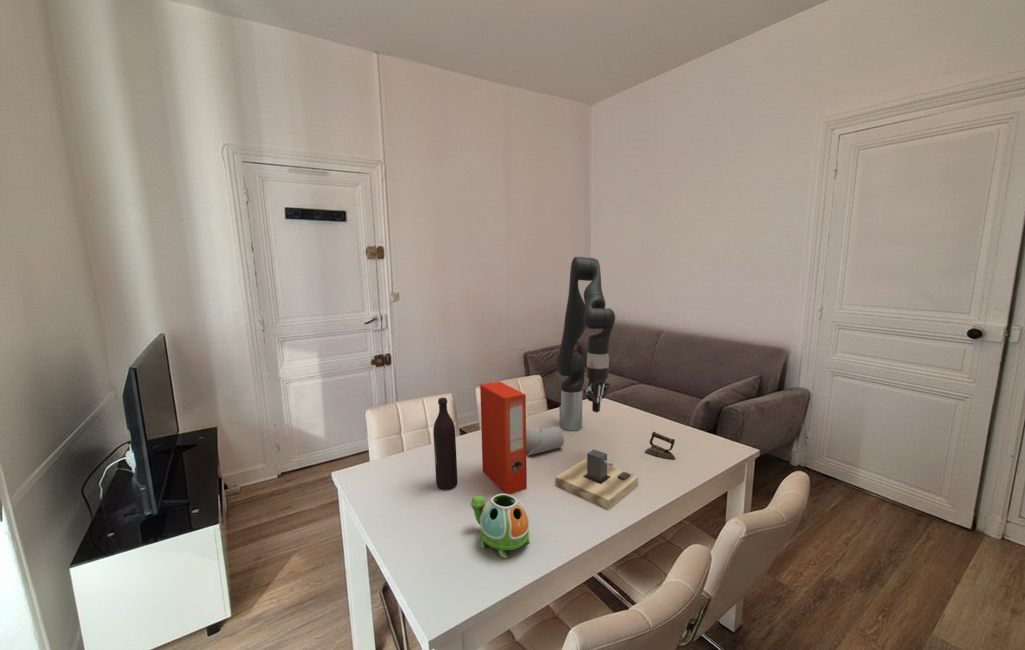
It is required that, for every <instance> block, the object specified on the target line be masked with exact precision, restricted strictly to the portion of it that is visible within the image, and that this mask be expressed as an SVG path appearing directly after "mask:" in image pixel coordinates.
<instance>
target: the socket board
mask: <svg viewBox="0 0 1025 650" xmlns="http://www.w3.org/2000/svg"><path fill="white" fill-rule="evenodd" d="M554 480H555V486H556V487H558V488H559V489H560V488H561V489H563V490H565V491H567V492H569V493H571V494H573V495H576V496H578V497H580V498H582V499H585V500H587V501H589V502H591V503H593V504H596V505H598V506H600V507H603V508H605V509H606V510H610V509H611V508H612V507H613V506H615V505H616V504H617V503H619V502H620V501H621V500H622V499H624V497H626V496H627V495H629V493H631V492H632V491H633V490H634V489H635V488H637V487H638V486H639V476H637V475H635V474H632V473H630V472H627V471H624V470H621V469H619V468H616V467H613V466H609V465H607V480H606V481H605V482H603V483H602V484H599V483H597V482H594V481H592V480H589V479H587V457H585V458H583V460H580V461H578V462H577V463H576V464H574V465H573V466H571V467H569V468H567V469H566V470H564V471H563V472H561V473H560V474H558V475H556V476H555V479H554Z"/></svg>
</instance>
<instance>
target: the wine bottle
mask: <svg viewBox="0 0 1025 650" xmlns="http://www.w3.org/2000/svg"><path fill="white" fill-rule="evenodd" d="M437 402H438V403H437V404H438V415H437V417H436V419H435V421H434V423H433V428H432V429H433V432H432V433H433V451H434V466H435V467H434V468H435V484H436V487H437V489H438V490H441V491H449V490H453V489H455V488H456V487H457V486H458V465H457V464H458V462H457V460H458V459H457V442H456V440H457V439H456V427H455V424H454V420H453V419H452V417H451V415H450V414H449V412H448V405H447V404H448V399H447V398H446V397H439V398H438V401H437Z"/></svg>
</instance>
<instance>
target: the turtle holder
mask: <svg viewBox="0 0 1025 650" xmlns="http://www.w3.org/2000/svg"><path fill="white" fill-rule="evenodd" d="M470 506H471V509H472V510H473V512H474V516H475V520H476V521H477V523H478V524H479V525H480V530H479V535H480V538H481V542H480V546H481V548H483V549H485V548H486V547H487V546H489V547H490V548H493V549H496V550H497V553H498V555H499V557H500V558H501V559H507V558H508V554H507V552H506V551H513V550H518V549H519V548H521V547H522V546H524V545H526V544H530V543H531V541H530V539H529V538H530V530H529V529H530V519H529V515H528V512H527V510H526V508H525V506H524V505H523V504H522V503H521V502H520V501H519V500H518V499H517V498H516V497H514V496H513V495H512V494H509V495H508V494H504V493H497V494H496V495H493V496H492V497H491V498H490V500H489V501H487V503H486V502H485V497H484V496H483V495H479V496H478V495H474V496H473V497H472V499H471V502H470Z"/></svg>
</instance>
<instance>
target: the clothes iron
mask: <svg viewBox="0 0 1025 650" xmlns="http://www.w3.org/2000/svg"><path fill="white" fill-rule="evenodd" d="M654 438H656V439H658V440H659V439H660V440H661V441H664V442H666V443H669V444H670V447H669V449H666V448H664V447H661V446H659V445H657V444H654V442H653V440H654ZM675 443H676V440H675V439H674V438H669V437H668V436H665V435H663V434H660V433H657V432H656V431H653V432H652V433H651V438H650V440H649V444H650V447H648V448H647V449H645V451H644V454H647V455H649V456H652V457H655V458H660V459H663V460H669V461H671V460H672V461H675V460H676V457H675V455H674V454H673V453H672V452H671V451H672V450H673V448H674V445H675Z"/></svg>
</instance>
